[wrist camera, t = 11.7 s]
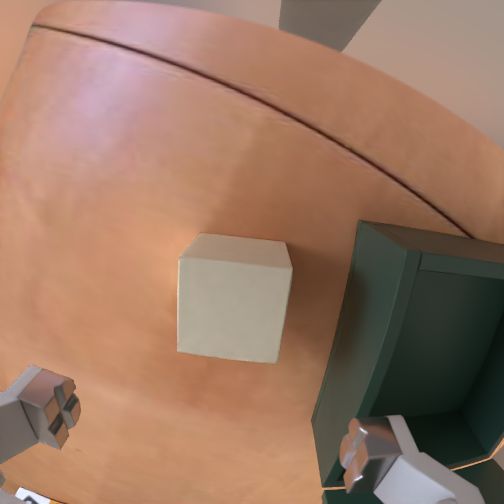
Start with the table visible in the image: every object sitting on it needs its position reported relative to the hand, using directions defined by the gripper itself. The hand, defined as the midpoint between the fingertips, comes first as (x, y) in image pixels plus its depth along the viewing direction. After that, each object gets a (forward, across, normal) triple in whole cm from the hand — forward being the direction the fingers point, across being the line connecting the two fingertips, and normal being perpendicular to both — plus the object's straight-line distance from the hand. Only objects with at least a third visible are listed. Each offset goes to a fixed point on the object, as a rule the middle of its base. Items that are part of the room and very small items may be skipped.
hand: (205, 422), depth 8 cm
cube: (+12, 0, 0) cm, 12 cm away
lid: (-4, -14, +9) cm, 17 cm away
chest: (+12, -14, +4) cm, 19 cm away
